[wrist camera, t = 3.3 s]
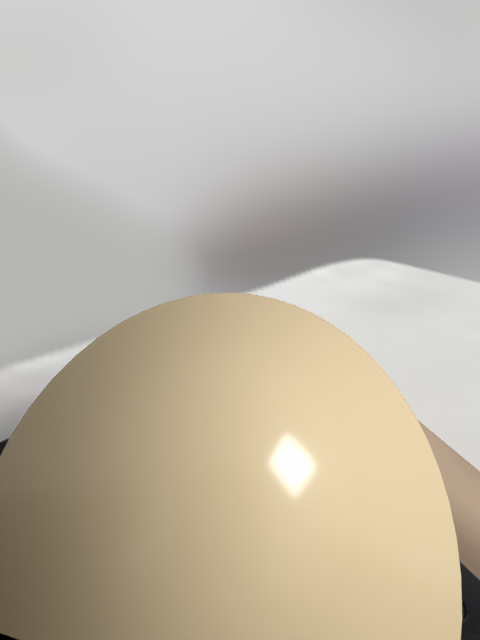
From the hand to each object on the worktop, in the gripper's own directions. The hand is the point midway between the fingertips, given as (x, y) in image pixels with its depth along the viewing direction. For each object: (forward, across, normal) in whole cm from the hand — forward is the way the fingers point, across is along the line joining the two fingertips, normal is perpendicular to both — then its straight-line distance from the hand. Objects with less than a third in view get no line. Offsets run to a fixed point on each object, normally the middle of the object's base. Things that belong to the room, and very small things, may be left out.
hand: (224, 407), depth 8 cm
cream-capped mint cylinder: (+4, 0, +6) cm, 7 cm away
